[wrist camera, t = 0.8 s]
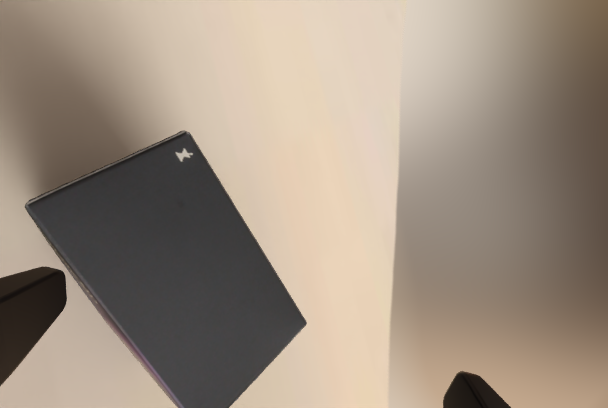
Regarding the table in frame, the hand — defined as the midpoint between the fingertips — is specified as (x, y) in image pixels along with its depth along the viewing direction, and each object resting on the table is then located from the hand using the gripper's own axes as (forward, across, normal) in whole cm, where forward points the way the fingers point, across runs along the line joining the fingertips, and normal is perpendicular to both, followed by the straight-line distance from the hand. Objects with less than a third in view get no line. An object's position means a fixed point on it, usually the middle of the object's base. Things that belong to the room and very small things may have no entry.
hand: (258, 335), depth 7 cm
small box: (+12, +9, +8) cm, 17 cm away
